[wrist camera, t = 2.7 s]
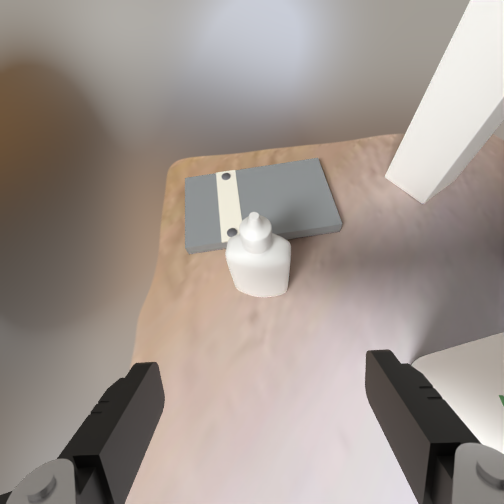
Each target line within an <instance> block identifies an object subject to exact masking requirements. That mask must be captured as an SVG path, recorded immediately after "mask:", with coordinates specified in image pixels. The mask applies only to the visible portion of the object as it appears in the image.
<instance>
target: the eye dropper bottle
mask: <svg viewBox="0 0 504 504" xmlns="http://www.w3.org/2000/svg"><path fill="white" fill-rule="evenodd" d="M239 232H240V234H237V235H235V236H233V237H231V238H230V239H229V240H228V243H227V247H226V254H225V255H226V260H227V264H228V267H229V270H230V273H231V275H232V278H233V281H234V284H235V287H236V288H237V289H238V290H239V291H241V292H243V293H245V294H248V295H251V296H255V297H275V296H279V295H282V294H284V293H285V292H287V289H288V281H289V271H290V260H291V245H290V243H289V242H288V241H287V240H286V239H284V238H282V237H280V236H278V235H276V234H273V233H272V225H271V223H270V221H269V220H268V219H267V218H266V217H264V216H262V215H259V214H258V213H257V212H252V213H250V214H249V216H248V217H246V218H245V219H244V220H243V221H242V222H241V224H240V227H239Z"/></svg>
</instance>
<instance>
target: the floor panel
mask: <svg viewBox="0 0 504 504" xmlns="http://www.w3.org/2000/svg"><path fill="white" fill-rule="evenodd" d="M252 212H257V213H258V214H259V215H262V216H264V217H266V218H267V219H268V220H269V221H270V223H271V225H272V233H273V234H276V235H278V236H280V237H282V238H284V239H286V240H287V239H293V238H300V237H307V236H313V235H320V234H327V233H333V232H340V229H341V227H342V222H341V219H340V216H339V213H338V211H337V208H336V205H335V203H334V200H333V197H332V194H331V192H330V189H329V186H328V184H327V181H326V178H325V175H324V173H323V170H322V167H321V165H320V162H319V159H318V158H314V159H307V160H301V161H294V162H288V163H281V164H274V165H268V166H261V167H255V168H248V169H242V170H231V171H225V172H218V173H215V174H209V175H202V176H196V177H189V178H185V248H186V250H187V252H188V253H189V254H194V253H200V252H207V251H214V250H220V249H226V247H227V243H228V240H229V239H230V238H231V237H233V236H235V235H237V234H240V232H239V227H240V224H241V222H242V221H243V220H244V219H245V218H246V217H248V216H249V214H250V213H252Z"/></svg>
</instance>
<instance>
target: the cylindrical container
mask: <svg viewBox="0 0 504 504" xmlns="http://www.w3.org/2000/svg"><path fill="white" fill-rule="evenodd" d="M411 366H412V367H414V368H415V369H417V370H418V371H420V372H421V373H423V375H424V376H425V377H426V378H427V379H428V381H429V382H430V383H431V384H432V385H433V388H435V389H436V390H437V391H438V393H439V394H440V395H441V396H442V399H444V400H445V401H446V402H447V403H448V404H449V406H450V407H451V408H452V409H453V410H454V412H455V413H456V414H457V415H458V416H459V418H460V419H461V420H462V421H463V422H464V423H465V425H466V426H467V427H468V428H469V429H470V431H471V432H472V433H473V434H474V435H475V437H476V438H477V439H478V440H479V441H480V442H481V444H482V445H486V446H488V447H491V448H493V449H495V450H498V451H499V452H501V453H503V454H504V332H502V333H499V334H495V335H492V336H489V337H485V338H482V339H478V340H475V341H471V342H468V343H465V344H461V345H458V346H454V347H451V348H448V349H444V350H441V351H438V352H434V353H431V354H428V355H425V356H422V357H420V358H418V359H417V360H415V361H414V362H413V363H412V365H411Z"/></svg>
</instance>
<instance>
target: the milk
mask: <svg viewBox="0 0 504 504" xmlns="http://www.w3.org/2000/svg"><path fill="white" fill-rule="evenodd" d="M503 121H504V0H470V2H469V4H468V6H467V8H466V10H465V12H464V14H463V16H462V18H461V20H460V22H459V25H458V27H457V29H456V31H455V33H454V35H453V37H452V39H451V41H450V43H449V45H448V47H447V49H446V51H445V53H444V55H443V57H442V59H441V61H440V64H439V66H438V68H437V70H436V72H435V74H434V76H433V78H432V80H431V82H430V84H429V86H428V88H427V90H426V92H425V94H424V97H423V99H422V101H421V103H420V105H419V107H418V109H417V111H416V113H415V115H414V117H413V119H412V121H411V123H410V125H409V127H408V129H407V132H406V133H405V135H404V138H403V140H402V142H401V144H400V146H399V148H398V150H397V152H396V154H395V156H394V158H393V160H392V162H391V164H390V166H389V168H388V170H387V172H386V175H385V178H386V179H388V180H389V181H390V182H392V183H393V184H395V185H396V186H397V187H399V188H400V189H402V190H403V191H405V192H406V193H407V194H409V195H410V196H412V197H413V198H414V199H416V200H417V201H419V202H420V203H422V204H424V203H426V202H427V201H428V200H430V199H431V198H432V197H434V196H435V195H436V194H438V193H439V192H440V191H442V190H443V189H445V188H446V187H447V186H449V185H450V184H451V183H453V182H454V181H455V180H456V178H457V177H458V176H459V175H460V174H461V172H462V171H463V170H464V169H465V167H466V166H467V165H468V164H469V162H470V161H471V160H472V159H473V158H474V156H475V155H476V154H477V153H478V151H479V150H480V149H481V148H482V147H483V145H484V144H485V143H486V142H487V140H488V139H489V138H490V137H491V135H492V134H493V133H494V132H495V131H496V129H497V128H498V127H499V126H500V124H501V123H502V122H503Z"/></svg>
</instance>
